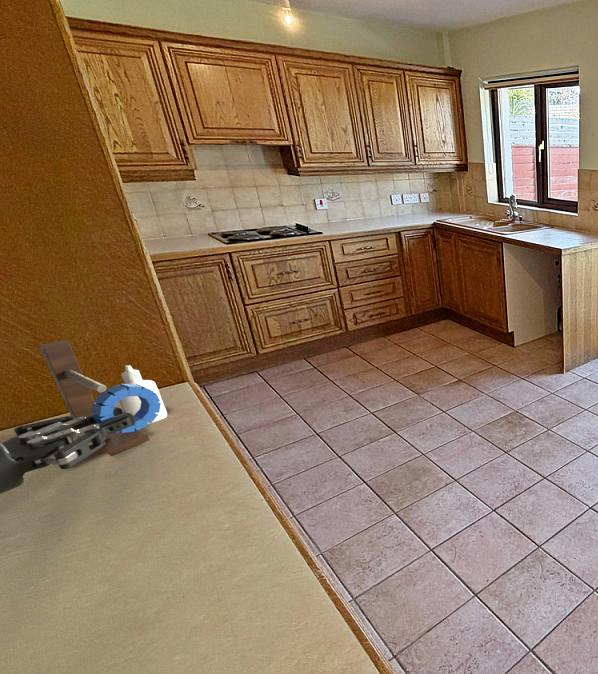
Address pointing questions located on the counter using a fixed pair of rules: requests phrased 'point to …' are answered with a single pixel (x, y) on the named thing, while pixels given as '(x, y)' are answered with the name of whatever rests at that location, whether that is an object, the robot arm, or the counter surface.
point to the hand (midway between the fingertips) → (126, 415)
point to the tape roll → (118, 393)
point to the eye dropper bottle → (133, 402)
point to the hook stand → (83, 395)
